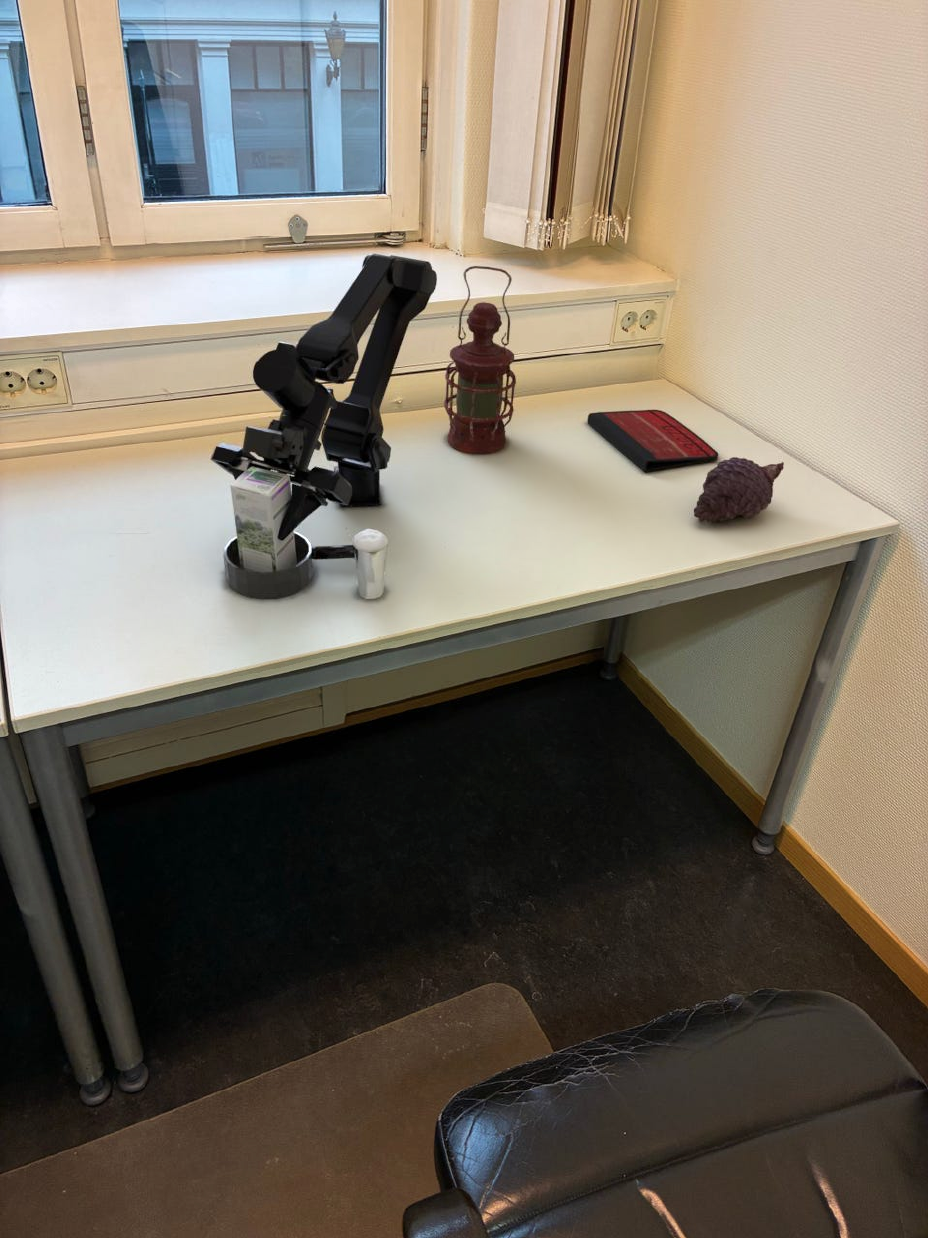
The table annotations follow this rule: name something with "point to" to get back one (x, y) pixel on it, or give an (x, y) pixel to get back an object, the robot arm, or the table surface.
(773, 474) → the pine cone
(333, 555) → the pan handle
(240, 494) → the syrup box
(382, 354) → the robot arm
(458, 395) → the lantern
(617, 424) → the binder
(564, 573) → the table surface
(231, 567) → the pan
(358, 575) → the milkshake
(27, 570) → the table surface
